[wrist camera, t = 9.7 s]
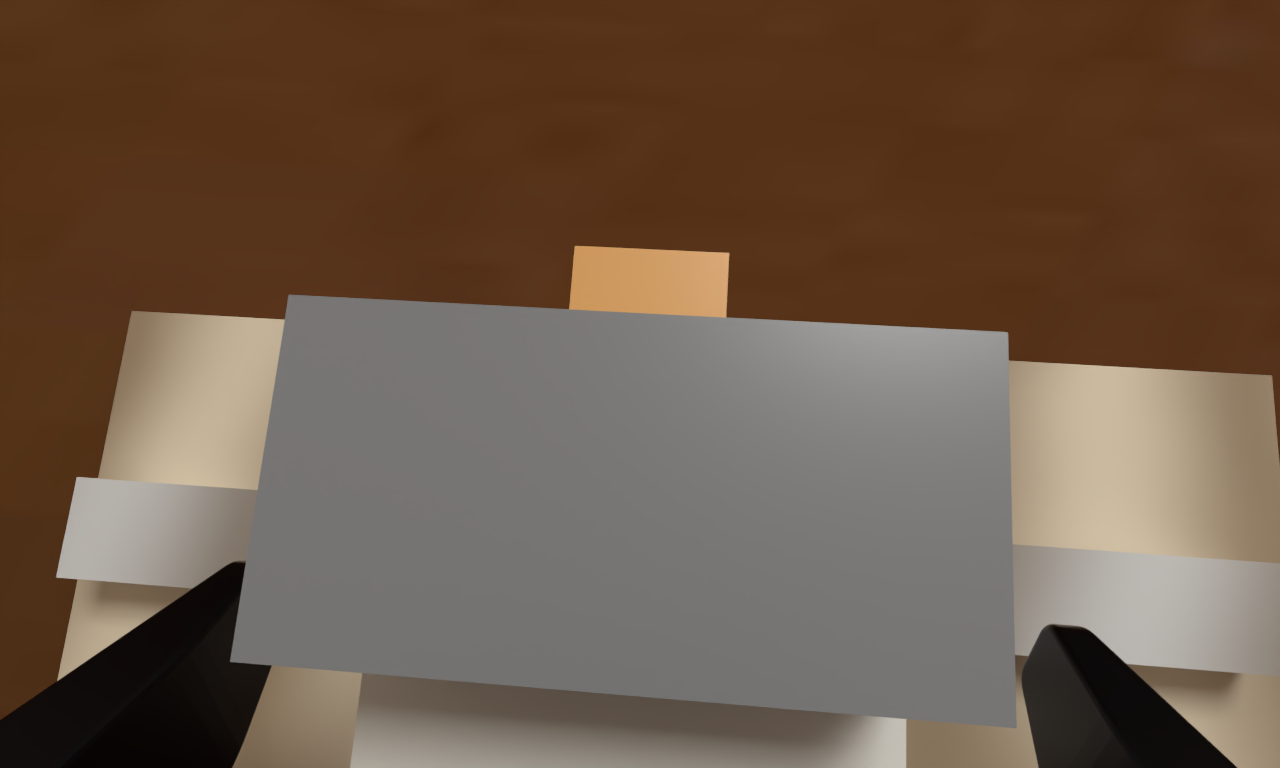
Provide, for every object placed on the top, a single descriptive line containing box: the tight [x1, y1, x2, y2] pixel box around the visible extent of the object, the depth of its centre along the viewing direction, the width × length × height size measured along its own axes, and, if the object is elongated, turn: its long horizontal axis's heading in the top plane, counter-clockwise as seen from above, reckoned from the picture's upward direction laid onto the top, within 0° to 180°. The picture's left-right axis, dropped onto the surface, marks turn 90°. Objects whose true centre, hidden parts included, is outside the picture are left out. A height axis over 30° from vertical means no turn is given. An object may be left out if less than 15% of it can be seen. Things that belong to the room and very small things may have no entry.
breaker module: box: [230, 246, 1017, 768], centre depth 10 cm, size 4×5×12 cm
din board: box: [56, 311, 1280, 768], centre depth 16 cm, size 26×10×3 cm, turn 86°
